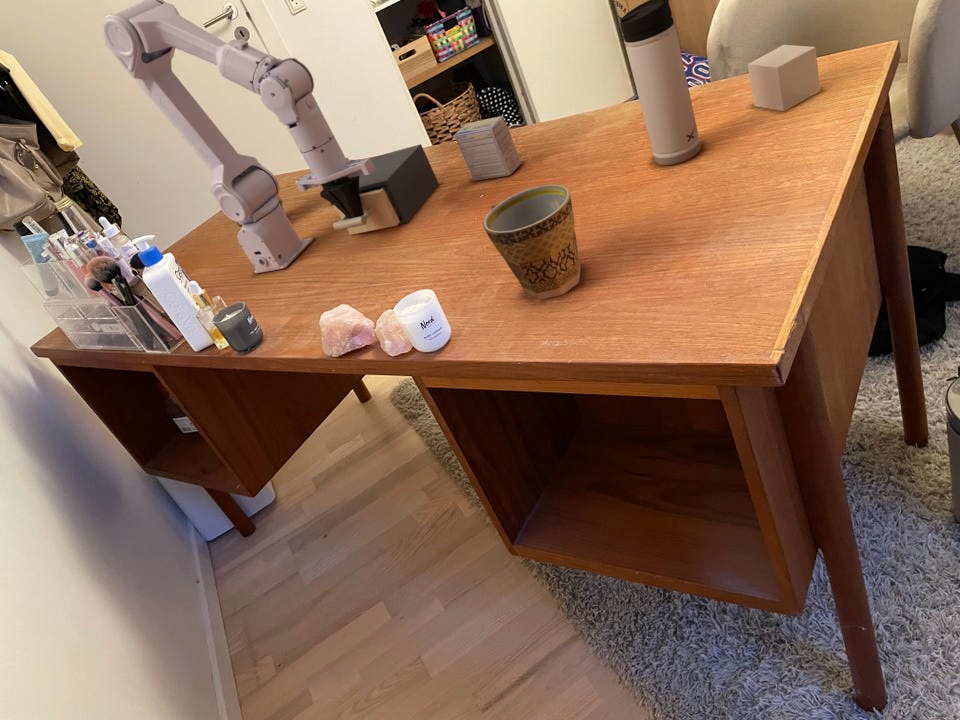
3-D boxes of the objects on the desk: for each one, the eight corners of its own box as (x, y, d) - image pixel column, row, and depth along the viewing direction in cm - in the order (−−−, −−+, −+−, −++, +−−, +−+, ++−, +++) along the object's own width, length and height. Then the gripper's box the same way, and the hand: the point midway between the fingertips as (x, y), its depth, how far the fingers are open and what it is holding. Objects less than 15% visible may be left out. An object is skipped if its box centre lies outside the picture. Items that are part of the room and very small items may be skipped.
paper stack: (522, 163, 115) (504, 114, 110) (510, 176, 112) (491, 127, 108) (485, 169, 120) (466, 122, 115) (472, 182, 117) (452, 134, 113)
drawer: (383, 241, 109) (365, 207, 106) (335, 250, 114) (317, 218, 111) (428, 189, 121) (413, 156, 117) (382, 199, 126) (367, 168, 123)
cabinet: (407, 223, 114) (386, 180, 110) (355, 233, 120) (333, 193, 116) (439, 184, 123) (421, 143, 119) (389, 196, 129) (370, 157, 125)
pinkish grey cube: (789, 87, 98) (783, 44, 94) (820, 91, 93) (815, 46, 89) (754, 106, 97) (747, 64, 94) (783, 111, 92) (777, 67, 89)
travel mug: (709, 152, 91) (676, -4, 80) (660, 170, 92) (621, 19, 82) (697, 138, 96) (665, -12, 85) (651, 155, 97) (613, 10, 87)
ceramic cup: (613, 268, 77) (587, 190, 72) (547, 317, 75) (515, 239, 69) (546, 247, 88) (519, 177, 82) (486, 289, 85) (454, 220, 80)
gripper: (365, 121, 104) (404, 200, 111) (297, 143, 111) (338, 215, 119) (343, 142, 99) (385, 223, 106) (273, 162, 107) (316, 237, 114)
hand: (359, 220), depth 112 cm, fingers closed
